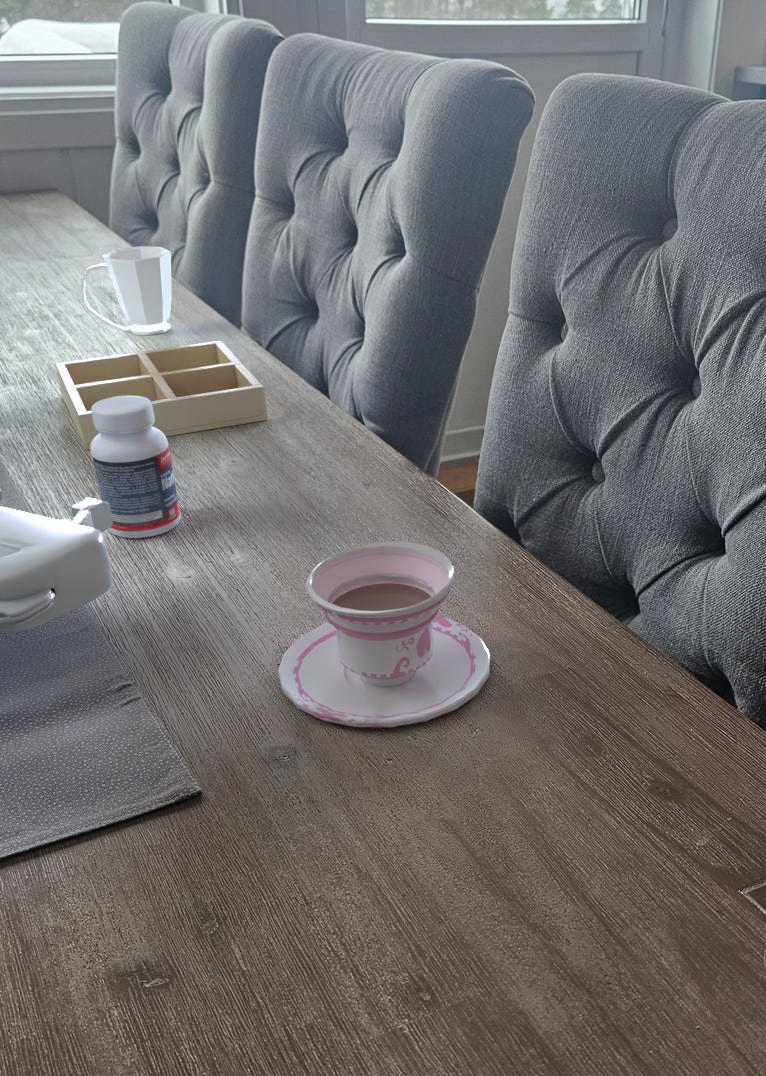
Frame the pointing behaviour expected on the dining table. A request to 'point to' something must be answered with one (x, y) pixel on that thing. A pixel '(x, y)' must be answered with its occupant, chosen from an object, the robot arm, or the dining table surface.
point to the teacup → (383, 641)
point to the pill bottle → (134, 468)
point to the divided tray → (167, 388)
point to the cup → (138, 287)
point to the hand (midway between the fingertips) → (46, 497)
